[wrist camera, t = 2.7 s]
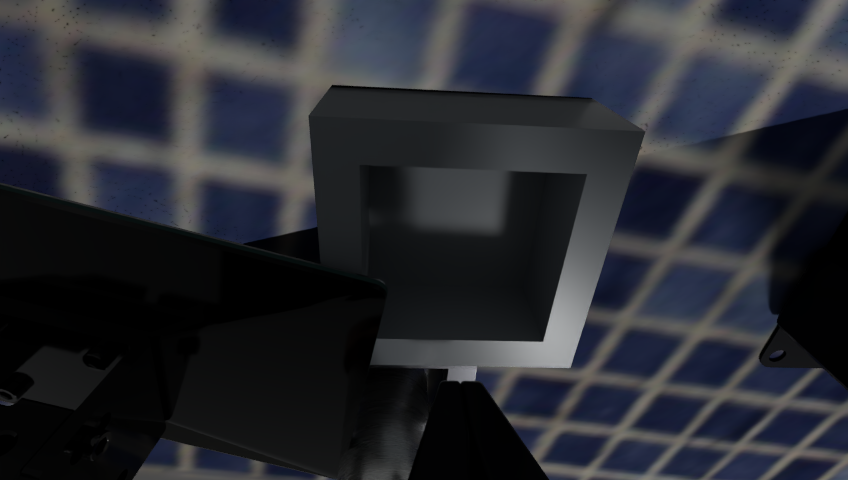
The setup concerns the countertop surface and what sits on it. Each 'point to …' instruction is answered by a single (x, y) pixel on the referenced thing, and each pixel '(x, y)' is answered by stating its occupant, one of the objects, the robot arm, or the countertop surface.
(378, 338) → the tray
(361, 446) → the pin
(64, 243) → the build plate
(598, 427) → the countertop surface
